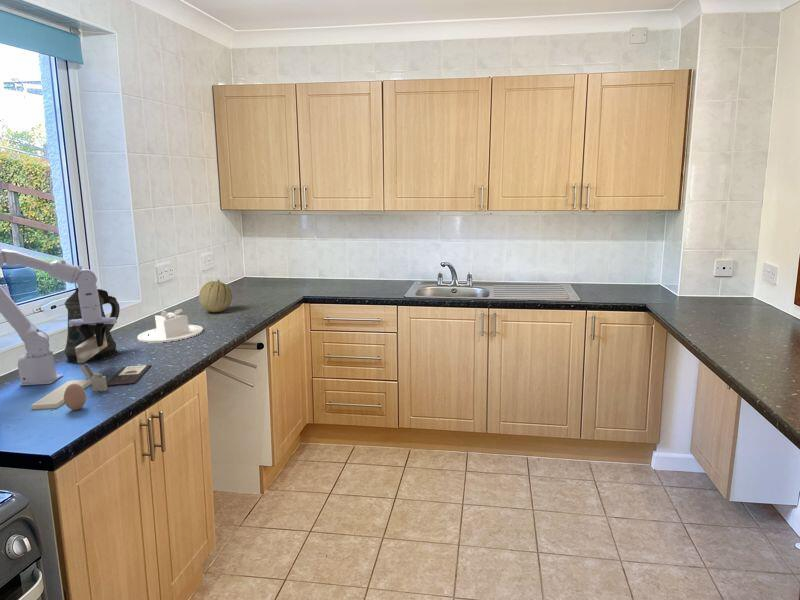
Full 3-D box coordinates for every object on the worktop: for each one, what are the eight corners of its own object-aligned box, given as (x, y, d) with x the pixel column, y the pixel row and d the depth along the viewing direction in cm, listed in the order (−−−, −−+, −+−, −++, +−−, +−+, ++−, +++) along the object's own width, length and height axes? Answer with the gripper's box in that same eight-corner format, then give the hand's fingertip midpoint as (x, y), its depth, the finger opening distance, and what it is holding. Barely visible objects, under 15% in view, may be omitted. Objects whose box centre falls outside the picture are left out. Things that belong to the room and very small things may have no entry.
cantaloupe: (194, 315, 268) (190, 283, 265) (210, 308, 282) (206, 277, 279) (224, 315, 265) (220, 283, 262) (238, 308, 279) (235, 277, 276)
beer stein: (55, 363, 203) (42, 293, 198) (91, 347, 222) (80, 283, 217) (98, 363, 201) (86, 292, 195) (131, 347, 219) (121, 281, 214)
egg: (92, 405, 161) (87, 380, 160) (80, 413, 156) (76, 387, 155) (73, 405, 162) (69, 380, 160) (61, 413, 156) (57, 387, 155)
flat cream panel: (31, 409, 161) (30, 405, 160) (69, 384, 180) (68, 380, 180) (57, 407, 161) (56, 403, 160) (92, 382, 180) (91, 379, 180)
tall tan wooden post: (77, 362, 181) (74, 347, 180) (101, 346, 196) (99, 332, 195) (84, 362, 181) (81, 347, 180) (107, 345, 196) (105, 331, 195)
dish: (216, 331, 239) (212, 304, 236) (162, 347, 218) (158, 318, 216) (178, 325, 252) (175, 299, 250) (124, 340, 232) (120, 312, 229)
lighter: (108, 389, 173) (104, 364, 172) (104, 391, 172) (99, 365, 170) (88, 388, 175) (83, 363, 173) (83, 390, 174) (79, 365, 172)
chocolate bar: (103, 385, 176) (122, 367, 193) (103, 388, 176) (123, 369, 193) (134, 382, 177) (151, 364, 194) (135, 385, 177) (151, 367, 195)
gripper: (118, 302, 192) (124, 341, 195) (73, 304, 192) (80, 344, 195) (108, 306, 186) (114, 347, 188) (62, 309, 185) (69, 350, 188)
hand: (96, 346), depth 191 cm, fingers closed on tall tan wooden post, 2 cm apart
